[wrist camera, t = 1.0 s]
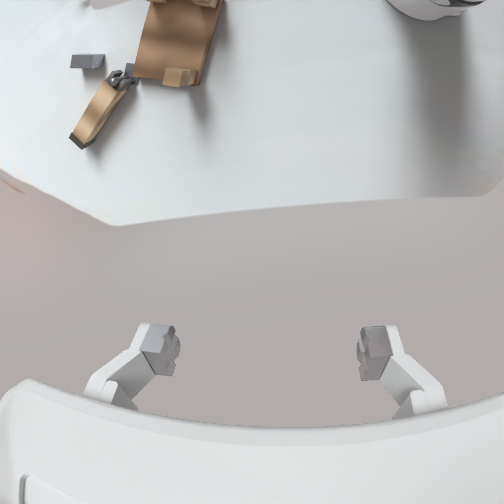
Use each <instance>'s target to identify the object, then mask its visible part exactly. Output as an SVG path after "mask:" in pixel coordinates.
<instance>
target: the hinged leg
mask: <svg viewBox="0 0 504 504" xmlns="http://www.w3.org/2000/svg"><path fill="white" fill-rule="evenodd" d="M122 73H123V72H122V71H121V70H118V71H112V72H111V74H110V75H109V77H108V78H107V79H106V80H104V82H103V83H102V85H101V86H100V88H99V89H98V91H97V92H96V94H95V95H94V97H93V99H92V100H91V102H90V103H89V105H88V107H87V108H86V110H85V112H84V113H83V115H82V117H81V119H80V120H79V122H78V124H77V126H76V127H75V129H74V131H73V132H72V133H71V135H70V137H69V138H70V139H71V140H72V141H73V142H74V143H75V144H76V145H77V146H78V147H79V148H80V149H81V150H82V149H84V148H86V147H87V146H89V145H91V144H93V142H94V140H95V137H96V135H97V134H98V132H99V130H100V129H101V127H102V126H103V124H104V123H105V121H106V120H107V118H108V117H109V115H110V114H111V112H112V111H113V109H114V108H115V106H116V105H117V103H118V102H119V101H120V99H121V98H122V96H123V95H124V94H125V92H126V91H127V90H128V89H127V88H128V86H129V85H130V84H131V82H132V81H133V80H132V79H130V78H129V79H123V80H122V81H121V82H120V84H119V85H114V86H110V85H109V84H108V80H109V79H110V78H114V77H120V76H121V74H122Z"/></svg>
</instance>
